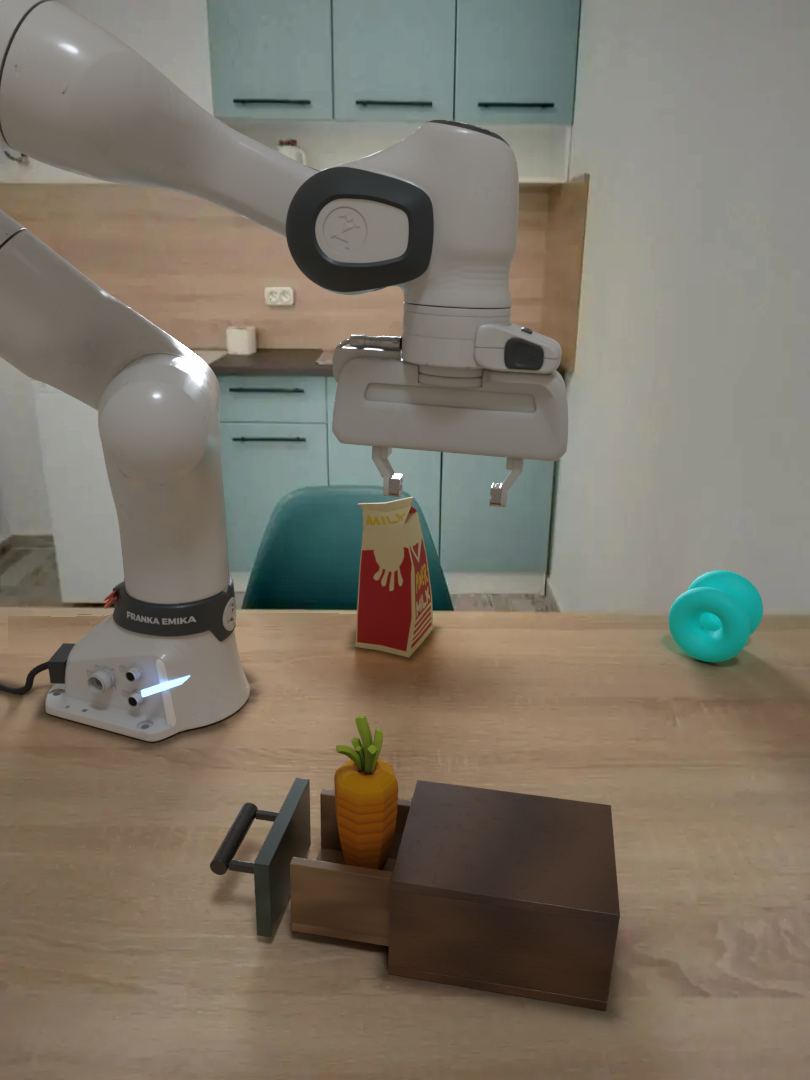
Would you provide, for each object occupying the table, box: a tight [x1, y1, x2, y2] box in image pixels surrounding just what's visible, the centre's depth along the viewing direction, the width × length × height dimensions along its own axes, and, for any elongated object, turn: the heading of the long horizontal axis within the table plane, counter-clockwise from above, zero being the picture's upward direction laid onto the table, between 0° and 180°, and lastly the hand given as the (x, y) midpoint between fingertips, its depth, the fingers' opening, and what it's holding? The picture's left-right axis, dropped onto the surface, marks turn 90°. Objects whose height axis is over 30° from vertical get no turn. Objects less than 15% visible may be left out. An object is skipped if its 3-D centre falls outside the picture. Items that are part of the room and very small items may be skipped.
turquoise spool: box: [667, 569, 764, 663], centre depth 108 cm, size 10×10×10 cm
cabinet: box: [387, 779, 621, 1011], centre depth 63 cm, size 16×12×9 cm
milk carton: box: [355, 496, 434, 658], centre depth 107 cm, size 9×9×20 cm
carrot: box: [333, 714, 399, 870], centre depth 63 cm, size 5×5×15 cm
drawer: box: [209, 777, 412, 947], centre depth 65 cm, size 19×10×7 cm, turn 80°
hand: (445, 500), depth 73 cm, fingers open, 8 cm apart
